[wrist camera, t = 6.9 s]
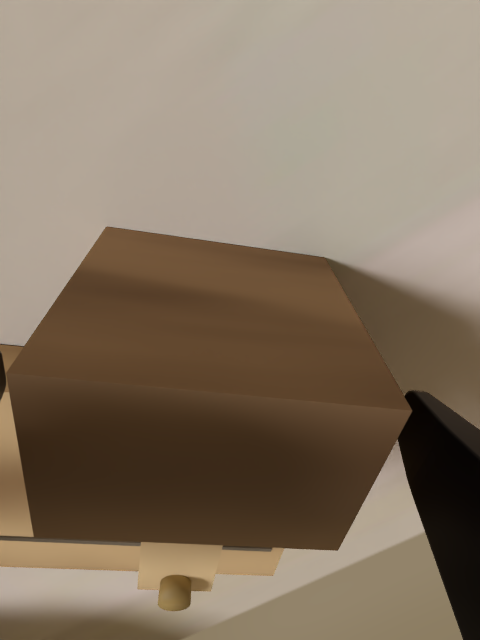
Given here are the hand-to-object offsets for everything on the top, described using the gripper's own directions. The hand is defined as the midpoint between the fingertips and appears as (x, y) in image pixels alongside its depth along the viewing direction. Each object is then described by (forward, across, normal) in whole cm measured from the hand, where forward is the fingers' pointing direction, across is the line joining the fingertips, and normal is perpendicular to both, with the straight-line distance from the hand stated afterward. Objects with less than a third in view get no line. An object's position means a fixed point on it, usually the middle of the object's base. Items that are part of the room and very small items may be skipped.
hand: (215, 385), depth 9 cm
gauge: (+4, 0, +3) cm, 5 cm away
